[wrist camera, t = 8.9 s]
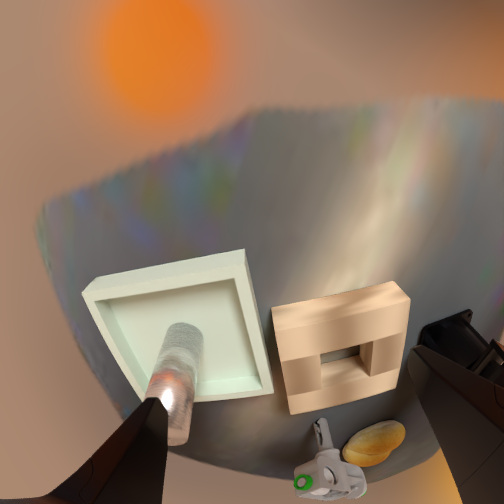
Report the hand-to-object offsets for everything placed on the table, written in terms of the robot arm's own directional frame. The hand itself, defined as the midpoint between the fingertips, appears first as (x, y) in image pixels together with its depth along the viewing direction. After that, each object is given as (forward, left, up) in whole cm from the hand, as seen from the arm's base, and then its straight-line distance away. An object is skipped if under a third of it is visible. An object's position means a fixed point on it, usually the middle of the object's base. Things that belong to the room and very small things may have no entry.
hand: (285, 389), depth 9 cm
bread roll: (-10, +30, -12) cm, 34 cm away
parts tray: (+7, +5, -12) cm, 15 cm away
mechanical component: (-3, +21, -12) cm, 25 cm away
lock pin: (+7, +5, -11) cm, 14 cm away
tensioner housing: (-5, +9, -12) cm, 16 cm away
